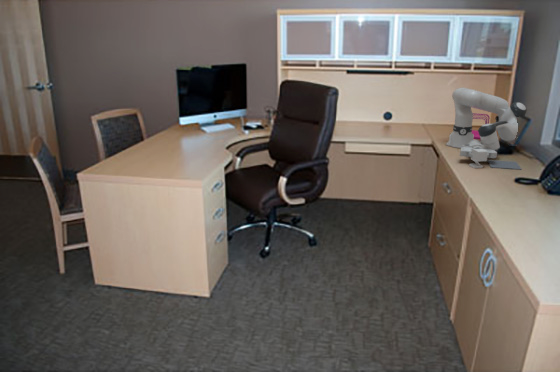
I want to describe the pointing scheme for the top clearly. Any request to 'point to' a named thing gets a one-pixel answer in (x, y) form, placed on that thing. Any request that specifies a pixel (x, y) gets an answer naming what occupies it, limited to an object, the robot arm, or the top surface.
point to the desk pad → (504, 164)
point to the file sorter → (476, 133)
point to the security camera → (478, 157)
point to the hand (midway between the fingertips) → (479, 156)
